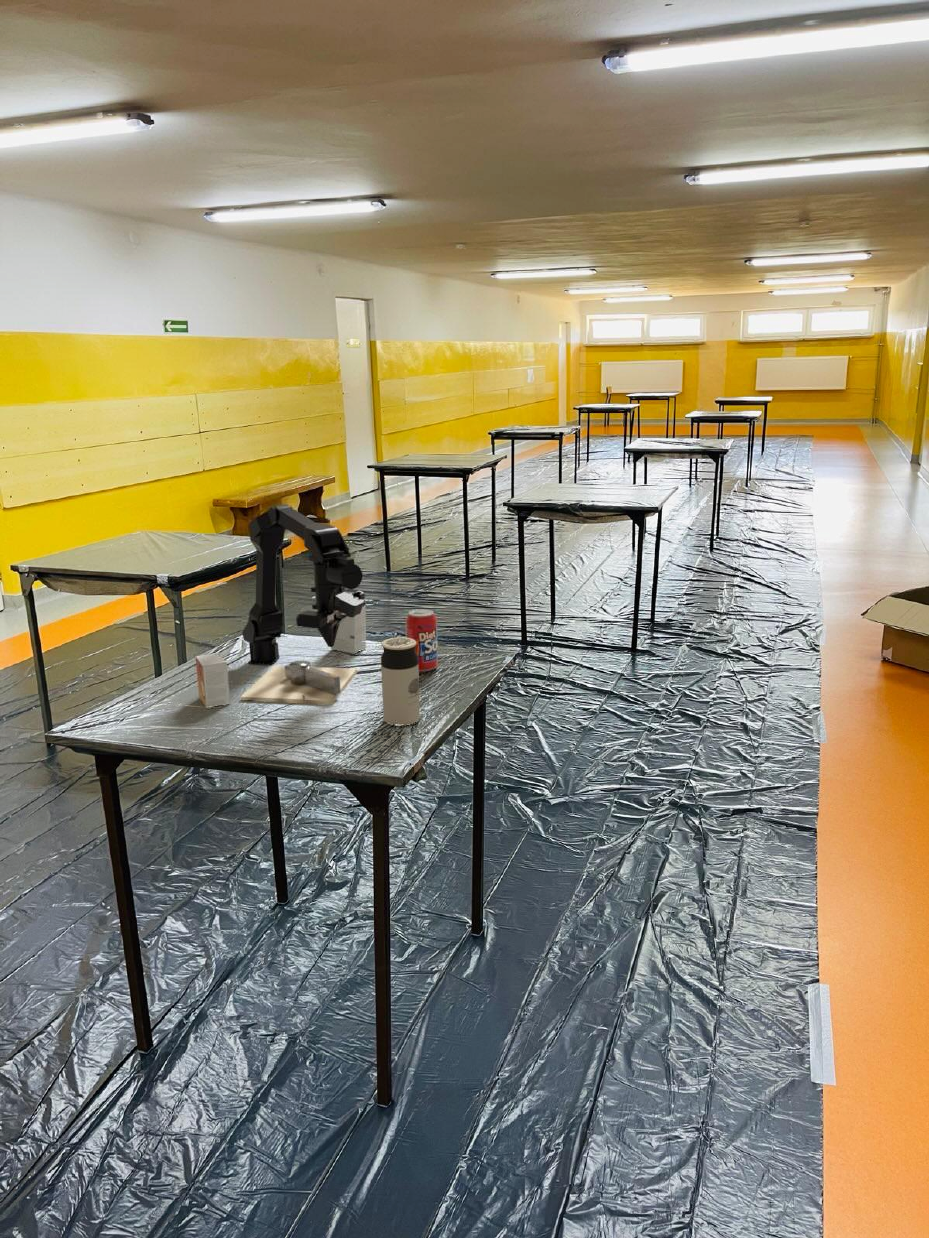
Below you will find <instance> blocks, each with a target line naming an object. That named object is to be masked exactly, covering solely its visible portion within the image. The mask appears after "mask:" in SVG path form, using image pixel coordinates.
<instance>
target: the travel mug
mask: <svg viewBox="0 0 929 1238" xmlns="http://www.w3.org/2000/svg"><path fill="white" fill-rule="evenodd" d="M415 645H416V641H415V640H414V639H411V638H406V636H405V637H403V636H402V637H397V636H396V637H392V638H387V639H385V640H383V641H382V642H381V646H382V648H383V652H382V654H381V656H380V663H381V667H380V670H381V692H382V693H381V694H382V712H383V713H382V714H383V718H382V719H383V722H384V721H385V722H388V723H391V724H404V725H405V724H406V725H407V724H412V723H414V724H416V723H418V722H419V721H420V720H421V714H420V713H421V711H420V682H419V680H420V679H419V678H420V677H419V675H420V672H418V655H417V653H416V652H415ZM419 719H420V720H419ZM385 722H384V723H385ZM415 722H416V723H415ZM412 725H413V724H412Z"/></svg>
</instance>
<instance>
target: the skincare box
mask: <svg viewBox="0 0 929 1238" xmlns="http://www.w3.org/2000/svg"><path fill="white" fill-rule="evenodd" d="M366 600H367V599H366V597H365V603H366V605H365V606H363V607H362V610H361V613H360V614H358V615H356V616H355V617H348V616H347V617H346V618H345V619H344V620H343V621H342V622H341V623H340V624H339V628H338V631H337V635H336V639H335V643H334V646H333V647H330V650H332V651H334V650H337V652H341V651H342V652H343V653H348V654H353V655H355V653H356V654H358V653H359V652H358V651H359V650H362V649H364V650H366V649H367V628H366V627H367V621H366V620H367V618H366V617H367V611H366V610H367V609H366V608H367V601H366ZM342 615H346V614H344V613H342ZM362 641H366V642H362ZM365 648H366V649H365ZM362 651H363V650H362ZM357 652H358V653H357Z"/></svg>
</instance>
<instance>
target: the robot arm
mask: <svg viewBox="0 0 929 1238" xmlns="http://www.w3.org/2000/svg"><path fill="white" fill-rule="evenodd" d="M287 530H288V531H289V532H291V533H292V534H293V535H294V536H295V535H296V536H297V537H299V539H301V540H303V544H304V545H303V546H304V547H305V549H307V550H308V552H310V553H311V555H310V556H309V557H308V558H307V559H308V561H309V562H312V568H313V579H314V581H313V582H314V583H313V585H314V586H311V587H310V591H311V593H314V598H315V603H312V604H311V609H312V610H310V609H309V610H304V611H303V612H300V613H299V614H298V615H297V616H296V617H295V620H296V621H295V622H296V627H302V628H309V629H310V628H312V629H316V630H318V631H319V633H320V635H321V637H322V638H323V640H324V642H325V643H326V645H327V647H328V648H331V647H333V646H334V643H335V639H336V635H337V631H338V628H339V624H340V623H341V622H342V621H343V620H344V619H345V618H346V617H347V616H348V617H355V616H356V615H358V614H360V613H361V610H362V607H363V606H365V605H366V606H367V602H366V603H365V598H366V597H365V592H364V591H362V590H357V591H355V592H354V593H352V592H350V593H348V592H346V591H345V589H347V590H355V589H356V588H358V587H360V585H361V583H362V581H363V572H362V570H361V568H360V566H359V565H357V564H355V559H354V558H352V557H351V553H350V548H349V547H348V545H347V543H346V542H345V539H344V537H343V535H342V532H341V531H340V530H339V529H338V528H337V527H336V526H334V525H330V524H326V523H318V522H315V521H313V520H312V519H310V518H308V517H307V516H305V515H304V514H303V513H300V512H299V511H297V510H295V509H294V508H293V506H292V505H290V504H287V503H285V504H278V505H277V504H276V505H273V506H270V507H269V508H268V510H266V511H265V512H263V513H261V514H259V515H257V516H256V517H255V518H252V520H251V521H249V525H248V532H249V539H250V542H251V544H252V545H253V547H254V548H255V550H256V561H255V562H256V566H255V571H256V572H255V603H254V604H253V606H252V607H251V609H250V610H249V612H248V619H247V623H246V625H245V626H244V628H243V630H242V633H241V635H242V637H243V641H246V642H248V646H249V656H250V660H249V661H247V663H248V664H249V665H267V666H269V665H270V666H271V665H273V664H274V663H275V662H276V661H277V660H278V659H279V658H280V657H281V656H280V652H279V643H278V642H277V640H276V639H277V638H281V636H282V630H283V626H284V624H283V623H284V622H283V617H284V613H283V612H282V611H280V609H279V608H278V606H277V605H276V594H277V593H276V586H277V555H278V551H279V549H280V547H281V546H282V545H283V543H284V540H285V532H286V531H287ZM342 613H344V614H346V615H342Z"/></svg>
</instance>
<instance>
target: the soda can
mask: <svg viewBox="0 0 929 1238" xmlns="http://www.w3.org/2000/svg"><path fill="white" fill-rule="evenodd" d="M405 638H411V639H414V640H415V641H416V645H415V652H416V653H417V655H418V672H419V673H425V672H426V671H427V672H429V671H432V670H434V669H436V668H437V667H438V665H439V664H438V663H439V659H438V656H439V654H438V653H439V650H438V618H437V616H436V615H435V612H434V610H431V609H427V608H419V609H412V610H409V611H408V615H407V616H406V618H405ZM427 672H426V673H427Z"/></svg>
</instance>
